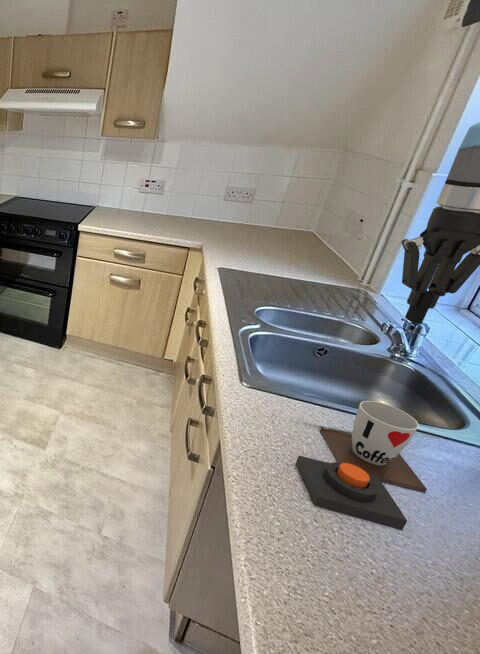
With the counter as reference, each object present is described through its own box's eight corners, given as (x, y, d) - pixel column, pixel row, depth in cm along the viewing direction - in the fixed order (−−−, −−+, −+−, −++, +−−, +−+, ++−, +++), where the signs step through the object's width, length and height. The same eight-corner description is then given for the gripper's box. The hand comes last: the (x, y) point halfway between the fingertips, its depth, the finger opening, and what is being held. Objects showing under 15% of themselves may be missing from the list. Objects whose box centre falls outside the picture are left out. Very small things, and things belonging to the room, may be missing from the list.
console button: (359, 474, 74) (363, 466, 73) (370, 491, 70) (374, 484, 70) (332, 467, 75) (335, 460, 75) (342, 484, 72) (345, 476, 71)
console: (372, 483, 77) (380, 467, 75) (402, 530, 68) (412, 512, 66) (295, 463, 81) (301, 447, 79) (314, 505, 72) (321, 488, 70)
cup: (341, 455, 81) (359, 414, 78) (343, 434, 87) (360, 395, 83) (398, 479, 76) (420, 436, 73) (396, 455, 82) (417, 414, 78)
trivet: (389, 447, 85) (391, 443, 85) (425, 493, 75) (427, 489, 74) (319, 431, 89) (321, 427, 89) (343, 472, 79) (345, 468, 78)
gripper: (495, 208, 79) (442, 318, 87) (407, 202, 83) (365, 307, 91) (528, 216, 72) (467, 335, 80) (430, 209, 76) (382, 322, 85)
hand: (413, 320), depth 86 cm, fingers closed
